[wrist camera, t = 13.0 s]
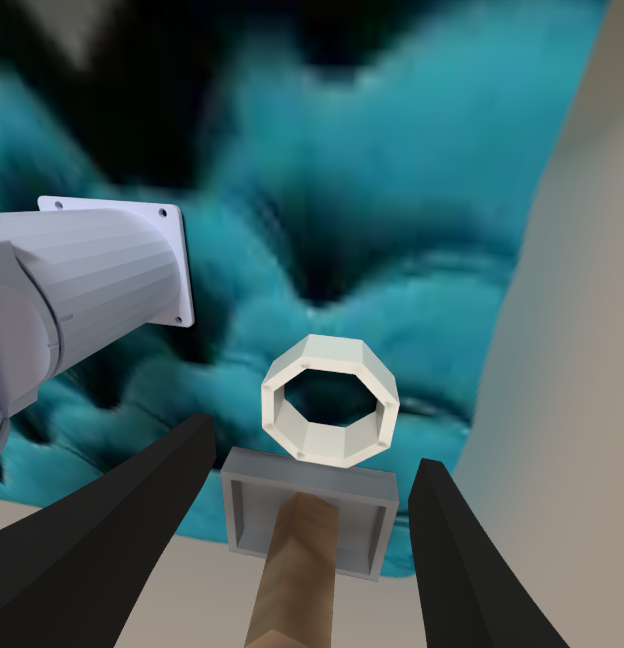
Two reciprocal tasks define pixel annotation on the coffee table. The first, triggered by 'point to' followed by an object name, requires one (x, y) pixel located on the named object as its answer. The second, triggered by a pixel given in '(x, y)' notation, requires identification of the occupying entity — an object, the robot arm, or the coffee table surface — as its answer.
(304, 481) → the tray
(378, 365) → the white octagonal ring
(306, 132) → the coffee table surface
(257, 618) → the walnut peg
